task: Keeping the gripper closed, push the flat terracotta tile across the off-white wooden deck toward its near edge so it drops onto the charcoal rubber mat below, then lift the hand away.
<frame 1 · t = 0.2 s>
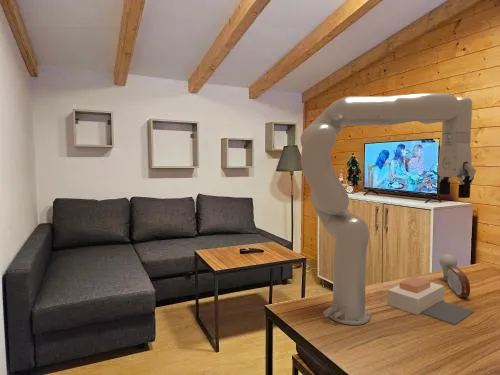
hand: (453, 196, 107), 37 cm above the table, tool pointing down, fingers open, 9 cm apart
deck: (415, 302, 117), on the table
tin: (457, 293, 125), on the table
mat: (447, 312, 109), on the table
lightbulb: (447, 282, 136), on the table
tile: (414, 287, 117), point 5 cm above the table, touching deck
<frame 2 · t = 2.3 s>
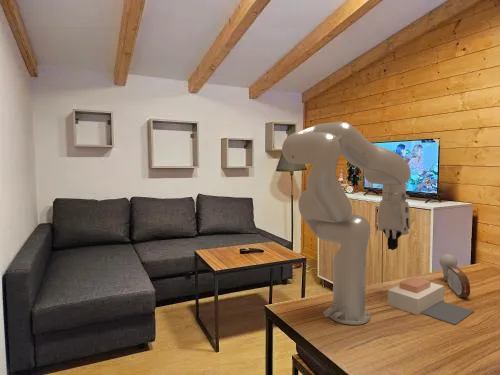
hand: (392, 248, 123), 16 cm above the table, tool pointing down, fingers closed
nothing on the table moved.
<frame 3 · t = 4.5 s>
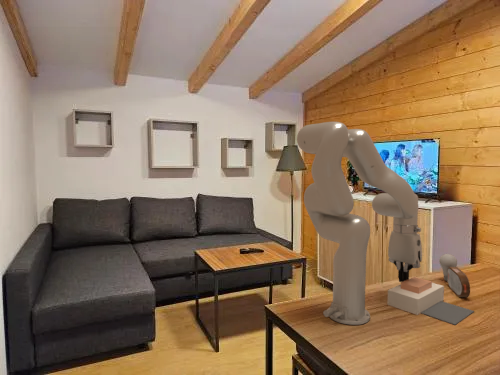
hand: (403, 281, 120), 6 cm above the table, tool pointing down, fingers closed
tile: (416, 287, 117), point 5 cm above the table, touching deck, gripper
everything else where it was.
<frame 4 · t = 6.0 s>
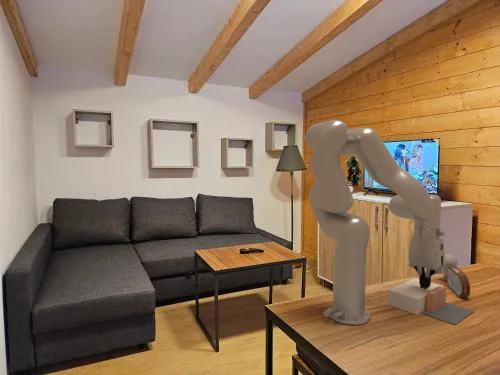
hand: (424, 287, 114), 6 cm above the table, tool pointing down, fingers closed
tile: (433, 297, 112), point 3 cm above the table, tilted 90°, touching mat
everything else where it was.
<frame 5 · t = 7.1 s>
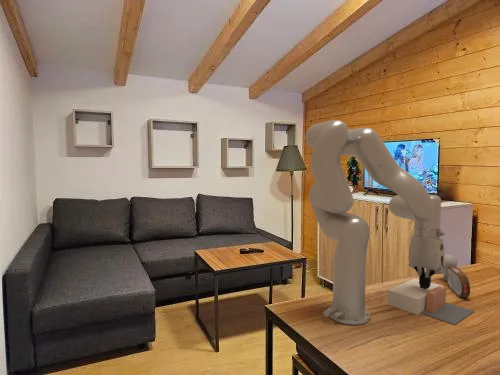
hand: (424, 287, 114), 6 cm above the table, tool pointing down, fingers closed
nothing on the table moved.
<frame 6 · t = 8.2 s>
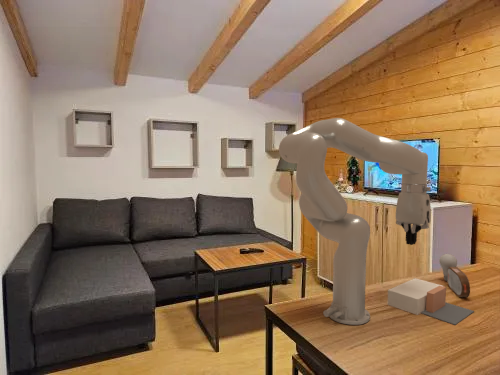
hand: (410, 243, 117), 20 cm above the table, tool pointing down, fingers closed
nothing on the table moved.
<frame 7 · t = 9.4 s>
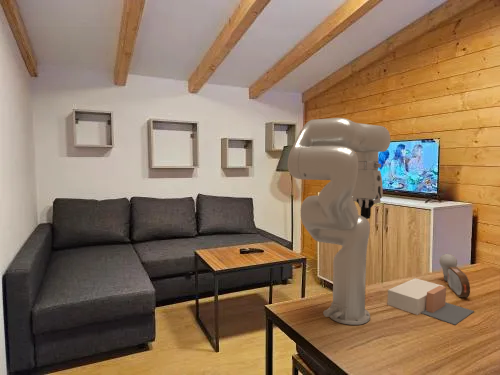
hand: (365, 218, 123), 27 cm above the table, tool pointing down, fingers closed
nothing on the table moved.
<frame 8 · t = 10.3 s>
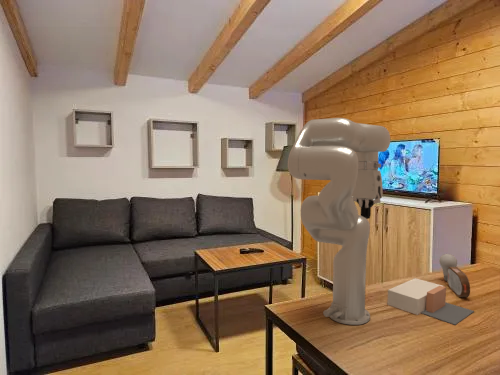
hand: (365, 218, 123), 27 cm above the table, tool pointing down, fingers closed
nothing on the table moved.
at the end: tile point 3.3 cm above the table; tile inside the target area on the mat (4.5 cm from its centre), point 3.3 cm above the mat's base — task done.
